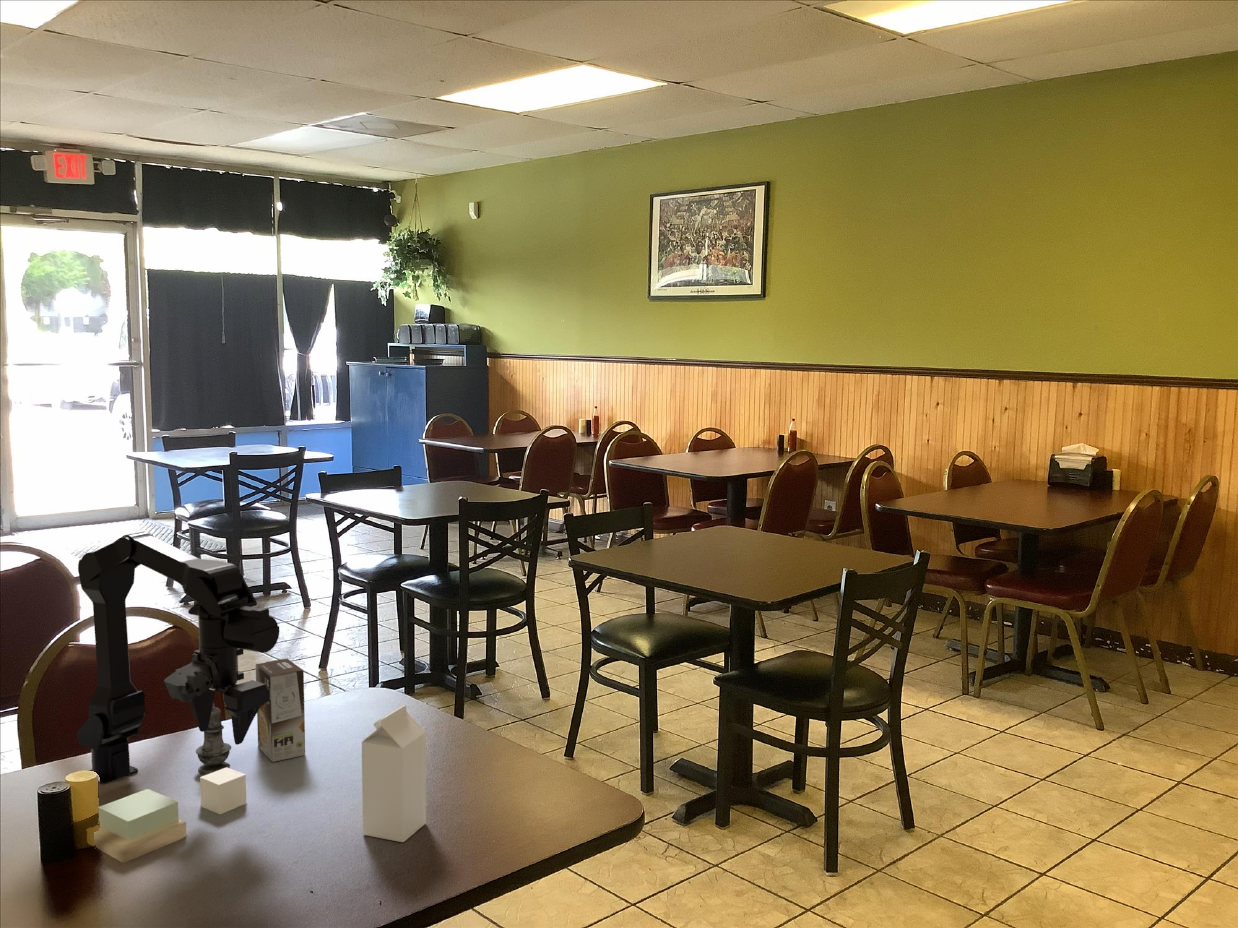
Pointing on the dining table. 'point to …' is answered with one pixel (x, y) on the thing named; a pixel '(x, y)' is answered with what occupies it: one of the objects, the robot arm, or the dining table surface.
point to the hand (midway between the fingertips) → (220, 737)
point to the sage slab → (138, 814)
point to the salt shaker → (213, 746)
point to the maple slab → (138, 841)
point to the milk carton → (394, 777)
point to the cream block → (223, 790)
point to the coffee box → (281, 710)
